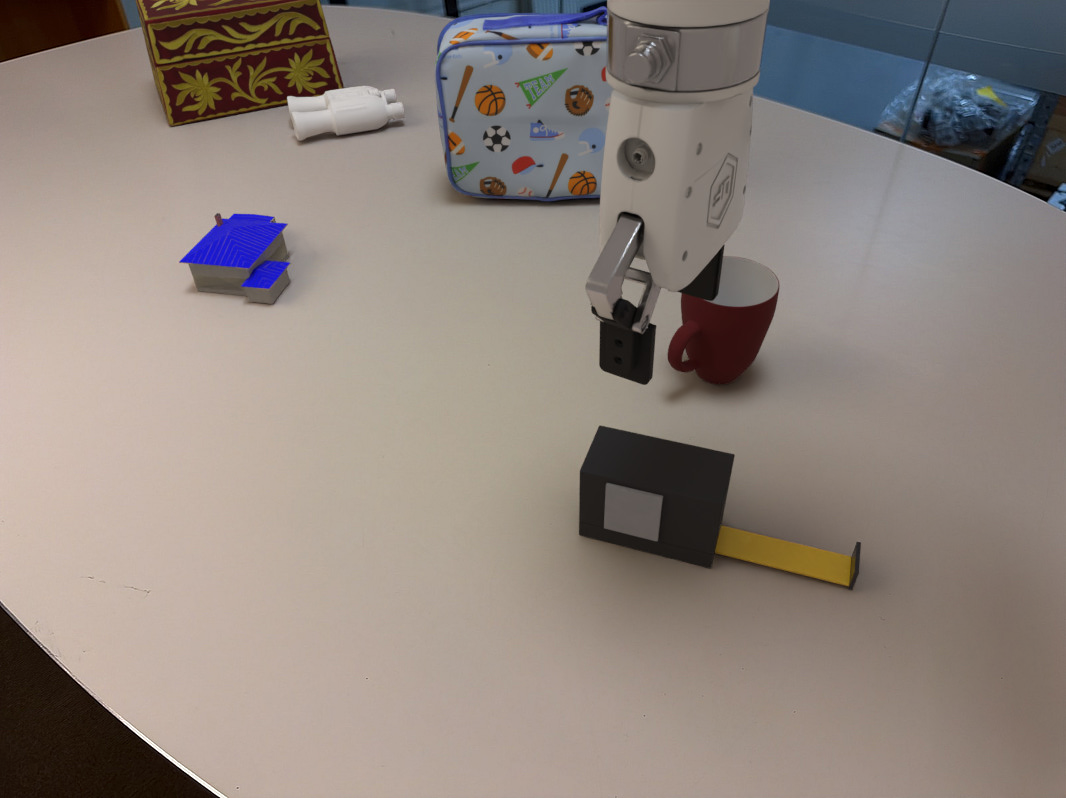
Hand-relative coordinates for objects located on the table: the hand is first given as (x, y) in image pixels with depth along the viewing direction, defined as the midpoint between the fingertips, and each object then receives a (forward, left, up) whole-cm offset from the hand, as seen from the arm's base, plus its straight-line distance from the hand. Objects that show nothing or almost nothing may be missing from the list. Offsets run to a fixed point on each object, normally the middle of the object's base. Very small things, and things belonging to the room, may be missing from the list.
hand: (661, 332), depth 50 cm
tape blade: (-10, 0, -18) cm, 20 cm away
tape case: (-1, 0, -18) cm, 18 cm away
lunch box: (+24, -51, -18) cm, 59 cm away
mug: (-2, -19, -18) cm, 26 cm away
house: (+51, -22, -18) cm, 59 cm away
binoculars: (+60, -62, -18) cm, 88 cm away
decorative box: (+83, -70, -18) cm, 110 cm away
